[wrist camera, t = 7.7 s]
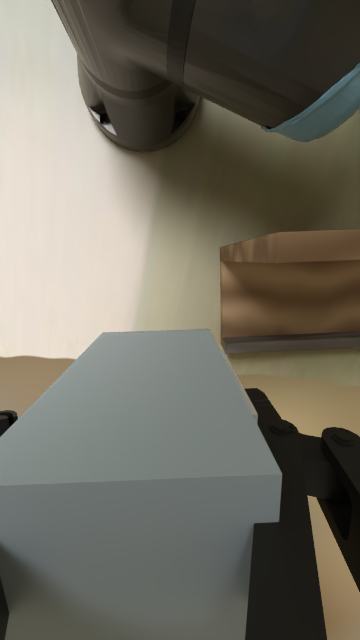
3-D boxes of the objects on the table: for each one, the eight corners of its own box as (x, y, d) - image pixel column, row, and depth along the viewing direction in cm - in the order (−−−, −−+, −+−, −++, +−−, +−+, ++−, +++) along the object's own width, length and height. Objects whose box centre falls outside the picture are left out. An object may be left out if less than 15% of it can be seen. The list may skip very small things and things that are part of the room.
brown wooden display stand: (220, 247, 39) (277, 232, 17) (367, 241, 39) (602, 218, 18) (220, 343, 42) (269, 430, 21) (356, 337, 42) (542, 416, 21)
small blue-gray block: (102, 332, 17) (-50, 487, 5) (209, 329, 17) (282, 474, 6) (111, 414, 19) (2, 678, 7) (209, 410, 19) (268, 664, 7)
